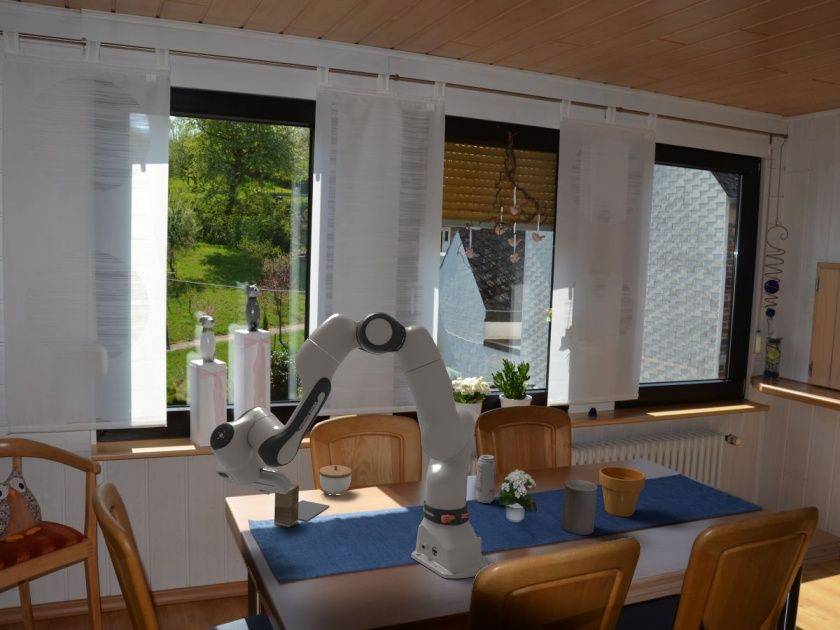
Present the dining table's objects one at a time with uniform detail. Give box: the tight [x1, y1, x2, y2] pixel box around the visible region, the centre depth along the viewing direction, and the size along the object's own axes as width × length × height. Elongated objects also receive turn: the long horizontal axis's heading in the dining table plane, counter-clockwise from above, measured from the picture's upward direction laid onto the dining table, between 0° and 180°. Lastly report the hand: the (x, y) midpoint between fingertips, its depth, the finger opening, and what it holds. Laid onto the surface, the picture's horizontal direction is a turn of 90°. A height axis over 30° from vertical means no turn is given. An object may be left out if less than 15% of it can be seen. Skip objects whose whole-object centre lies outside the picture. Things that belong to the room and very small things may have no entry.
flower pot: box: [598, 466, 646, 518], centre depth 238 cm, size 14×14×13 cm
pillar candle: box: [561, 479, 598, 536], centre depth 223 cm, size 10×10×15 cm
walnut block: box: [273, 483, 300, 528], centre depth 217 cm, size 5×5×11 cm
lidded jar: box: [318, 464, 353, 496], centre depth 245 cm, size 11×11×9 cm
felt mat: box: [298, 499, 330, 522], centre depth 227 cm, size 14×10×1 cm
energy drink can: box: [475, 454, 497, 504], centre depth 243 cm, size 6×6×15 cm
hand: (265, 491), depth 206 cm, fingers closed
